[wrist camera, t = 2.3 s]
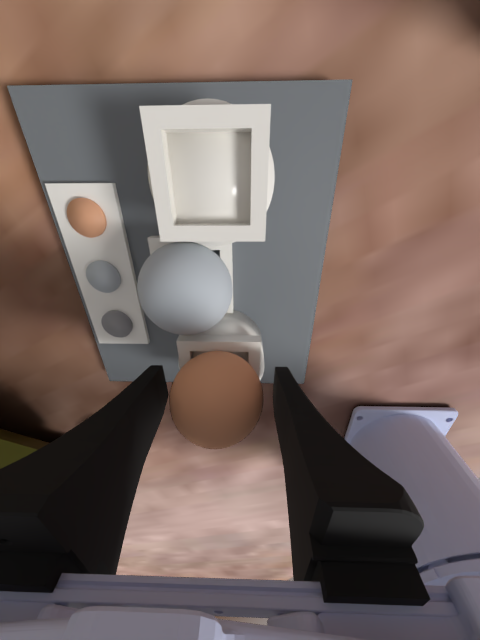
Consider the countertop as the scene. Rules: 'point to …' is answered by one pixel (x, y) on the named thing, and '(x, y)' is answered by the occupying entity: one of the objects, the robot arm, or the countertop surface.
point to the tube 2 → (226, 341)
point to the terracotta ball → (216, 399)
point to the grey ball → (184, 288)
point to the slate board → (141, 221)
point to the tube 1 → (209, 170)
